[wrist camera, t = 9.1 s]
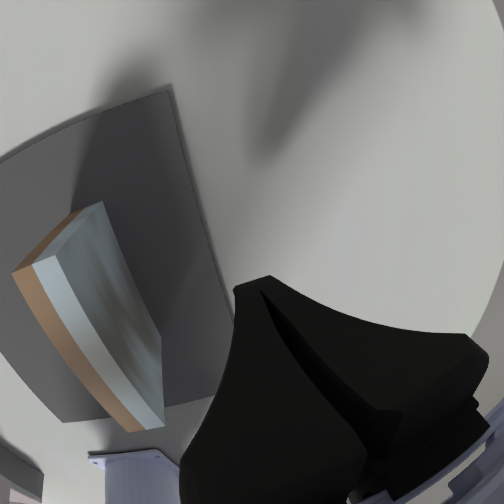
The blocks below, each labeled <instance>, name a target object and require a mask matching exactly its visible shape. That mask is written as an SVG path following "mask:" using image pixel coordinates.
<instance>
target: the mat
mask: <svg viewBox="0 0 504 504" xmlns="http://www.w3.org/2000/svg"><path fill="white" fill-rule="evenodd" d="M101 201H103V204H104V207H105V210H106V212H107V215H108V218H109V221H110V223H111V226H112V229H113V231H114V234H115V237H116V239H117V242H118V244H119V247H120V249H121V252H122V254H123V256H124V259H125V261H126V264H127V266H128V268H129V271H130V273H131V275H132V278H133V280H134V282H135V284H136V286H137V289H138V291H139V293H140V295H141V297H142V299H143V302H144V304H145V306H146V308H147V310H148V312H149V314H150V316H151V318H152V320H153V322H154V324H155V326H156V328H157V330H158V332H159V334H160V336H161V354H162V382H163V400H164V407H169V406H173V405H177V404H181V403H186V402H190V401H194V400H198V399H201V398H205V397H209V396H212V395H216V392H217V390H218V387H219V384H220V381H221V379H222V376H223V373H224V370H225V366H226V363H227V359H228V355H229V351H230V347H231V341H232V335H233V329H234V325H233V322H232V319H231V315H230V312H229V309H228V306H227V303H226V300H225V297H224V294H223V290H222V287H221V284H220V281H219V278H218V274H217V271H216V268H215V265H214V261H213V258H212V255H211V251H210V248H209V245H208V241H207V238H206V234H205V231H204V227H203V224H202V221H201V217H200V214H199V210H198V206H197V203H196V199H195V196H194V192H193V188H192V185H191V181H190V177H189V174H188V170H187V166H186V162H185V159H184V155H183V151H182V147H181V143H180V139H179V135H178V131H177V127H176V123H175V119H174V115H173V111H172V107H171V103H170V99H169V94H168V90H167V91H164V92H160V93H157V94H154V95H150V96H147V97H144V98H141V99H138V100H135V101H132V102H129V103H126V104H123V105H120V106H118V107H115V108H112V109H110V110H107V111H104V112H102V113H99V114H97V115H94V116H92V117H89V118H87V119H85V120H82V121H80V122H78V123H76V124H73V125H71V126H69V127H67V128H65V129H63V130H60V131H58V132H56V133H54V134H52V135H50V136H48V137H46V138H44V139H42V140H41V141H39V142H37V143H35V144H33V145H31V146H29V147H28V148H26V149H24V150H22V151H21V152H19V153H17V154H15V155H14V156H12V157H10V158H9V159H7V160H5V161H4V162H2V163H1V164H0V352H1V353H2V354H3V356H4V357H5V359H6V360H7V361H8V362H9V364H10V365H11V366H12V368H13V369H14V370H15V371H16V373H17V374H18V375H19V376H20V378H21V379H22V380H23V381H24V382H25V384H26V385H27V386H28V387H29V388H30V389H31V390H32V392H33V393H34V394H35V395H36V396H37V397H38V398H39V399H40V400H41V401H42V402H43V404H44V405H45V406H46V407H47V408H48V409H49V410H50V411H51V412H52V413H53V414H54V415H55V416H56V417H57V418H58V419H59V420H60V421H61V422H62V423H67V422H78V421H87V420H95V419H102V418H109V417H112V416H111V415H110V414H109V413H108V412H107V411H106V410H105V409H104V408H103V407H102V405H101V404H100V403H99V402H98V401H97V400H96V399H95V398H94V396H93V395H92V394H91V393H90V392H89V391H88V389H87V388H86V387H85V386H84V385H83V383H82V382H81V381H80V380H79V379H78V377H77V376H76V375H75V374H74V372H73V371H72V370H71V368H70V367H69V366H68V364H67V363H66V362H65V360H64V359H63V358H62V356H61V355H60V354H59V352H58V351H57V349H56V348H55V347H54V345H53V344H52V342H51V341H50V339H49V338H48V336H47V335H46V333H45V332H44V330H43V329H42V327H41V325H40V324H39V322H38V321H37V319H36V317H35V316H34V314H33V312H32V311H31V309H30V307H29V306H28V304H27V302H26V300H25V299H24V297H23V295H22V293H21V291H20V290H19V288H18V286H17V284H16V282H15V280H14V278H13V276H12V274H11V273H12V272H13V271H14V269H15V268H16V267H17V266H18V265H19V264H20V263H21V262H22V261H23V260H24V258H25V257H26V256H27V255H28V254H29V253H30V252H31V251H32V250H33V249H34V248H35V247H36V246H37V245H38V244H39V243H40V242H41V241H42V240H43V239H44V238H45V237H46V236H47V235H48V234H49V233H50V232H51V231H52V230H53V229H54V228H55V227H56V226H57V225H58V224H59V223H60V222H61V221H63V220H64V219H65V218H66V217H67V216H68V215H69V214H71V213H73V212H76V211H78V210H81V209H83V208H86V207H88V206H91V205H93V204H96V203H98V202H101Z"/></svg>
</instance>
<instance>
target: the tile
mask: <svg viewBox="0 0 504 504" xmlns="http://www.w3.org/2000/svg"><path fill="white" fill-rule="evenodd" d="M11 274H12V276H13V278H14V280H15V282H16V284H17V286H18V288H19V290H20V291H21V293H22V295H23V297H24V299H25V300H26V302H27V304H28V306H29V307H30V309H31V311H32V312H33V314H34V316H35V317H36V319H37V321H38V322H39V324H40V325H41V327H42V329H43V330H44V332H45V333H46V335H47V336H48V338H49V339H50V341H51V342H52V344H53V345H54V347H55V348H56V349H57V351H58V352H59V354H60V355H61V356H62V358H63V359H64V360H65V362H66V363H67V364H68V366H69V367H70V368H71V370H72V371H73V372H74V374H75V375H76V376H77V377H78V379H79V380H80V381H81V382H82V383H83V385H84V386H85V387H86V388H87V389H88V391H89V392H90V393H91V394H92V395H93V396H94V398H95V399H96V400H97V401H98V402H99V403H100V404H101V405H102V407H103V408H104V409H105V410H106V411H107V412H108V413H109V414H110V415H111V416H112V417H113V418H114V419H115V420H116V421H117V422H118V423H119V424H120V425H121V426H122V427H123V428H124V429H125V430H126V431H127V432H128V433H130V432H136V431H143V430H148V429H154V428H159V427H165V414H164V400H163V382H162V354H161V336H160V334H159V332H158V330H157V328H156V326H155V324H154V322H153V320H152V318H151V316H150V314H149V312H148V310H147V308H146V306H145V304H144V302H143V299H142V297H141V295H140V293H139V291H138V289H137V286H136V284H135V282H134V280H133V278H132V275H131V273H130V271H129V268H128V266H127V264H126V261H125V259H124V256H123V254H122V252H121V249H120V247H119V244H118V242H117V239H116V237H115V234H114V231H113V229H112V226H111V223H110V221H109V218H108V215H107V212H106V210H105V207H104V204H103V201H101V202H98V203H96V204H93V205H91V206H88V207H86V208H83V209H81V210H78V211H76V212H73V213H71V214H69V215H68V216H67V217H66V218H65V219H64V220H63V221H61V222H60V223H59V224H58V225H57V226H56V227H55V228H54V229H53V230H52V231H51V232H50V233H49V234H48V235H47V236H46V237H45V238H44V239H43V240H42V241H41V242H40V243H39V244H38V245H37V246H36V247H35V248H34V249H33V250H32V251H31V252H30V253H29V254H28V255H27V256H26V257H25V258H24V260H23V261H22V262H21V263H20V264H19V265H18V266H17V267H16V268H15V269H14V271H13V272H12V273H11Z"/></svg>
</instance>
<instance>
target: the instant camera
mask: <svg viewBox="0 0 504 504" xmlns="http://www.w3.org/2000/svg"><path fill="white" fill-rule="evenodd" d="M43 480H44V474H43V473H42V472H40V471H39V470H37V469H36V468H34V467H32V466H31V465H29V464H27V463H26V462H24V461H23V460H21V459H20V458H18V457H17V456H15V455H14V454H12V453H11V452H9V451H8V450H6V449H5V448H4V447H2V446H1V445H0V504H9V501H12V502H21V503H25V504H41V503H42V490H43Z"/></svg>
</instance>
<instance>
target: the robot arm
mask: <svg viewBox="0 0 504 504" xmlns="http://www.w3.org/2000/svg"><path fill="white" fill-rule="evenodd" d="M233 292H234V296H235V319H234V329H233V335H232V341H231V347H230V351H229V355H228V359H227V363H226V366H225V370H224V373H223V376H222V379H221V381H220V384H219V387H218V390H217V392H216V395H215V397H214V399H213V401H212V404H211V406H210V408H209V410H208V412H207V414H206V416H205V418H204V420H203V422H202V424H201V426H200V428H199V430H198V431H197V433H196V435H195V436H194V438H193V440H192V441H191V443H190V444H189V446H188V448H187V449H186V451H185V453H184V454H183V456H182V457H181V460H180V468H179V467H177V466H176V465H175V464H174V463H173V462H172V461H170V460H169V459H168V458H167V457H166V456H165V455H164V454H163V453H162V452H160V451H159V450H157V449H151V450H144V451H137V452H128V453H119V454H108V455H93V456H88V461H90V462H91V463H92V464H94V465H95V466H97V467H98V468H99V469H101V470H102V471H104V472H105V504H347V503H346V500H347V498H348V497H349V500H350V502H351V504H405V503H406V502H408V501H410V500H411V499H413V498H414V497H416V496H417V495H419V494H420V493H422V492H423V491H425V490H426V489H428V488H429V487H431V486H432V485H434V484H435V483H436V482H438V481H439V480H440V479H442V478H443V477H444V476H446V475H447V474H448V473H450V472H451V471H452V470H453V469H454V468H456V467H457V466H458V465H460V464H461V463H462V462H463V461H464V460H466V459H467V458H468V457H469V456H470V455H471V454H472V453H473V452H475V451H476V450H477V449H478V448H479V447H480V446H481V445H482V444H483V443H484V442H485V441H486V440H487V441H486V444H485V447H486V448H485V451H484V452H483V453H482V454H481V455H480V456H479V457H478V458H476V459H475V460H474V461H473V462H472V463H471V464H470V465H469V466H468V467H467V468H466V469H464V470H463V471H462V472H461V473H460V474H459V475H457V476H456V477H455V478H454V479H452V480H451V481H450V482H449V483H448V487H449V488H450V489H451V490H452V492H453V494H452V495H451V496H449V497H448V498H447V499H445V500H444V501H443V502H441V503H440V504H504V397H503V398H502V399H501V401H500V402H499V403H498V404H497V405H496V406H495V407H494V408H493V409H492V410H491V411H490V412H489V413H488V414H487V415H486V416H485V417H482V415H481V414H480V413H479V412H478V411H477V410H476V409H477V408H478V406H479V402H478V401H477V400H476V399H475V398H474V397H473V394H474V392H475V391H476V389H477V387H478V385H479V384H480V382H481V380H482V378H483V376H484V374H485V372H486V370H487V368H488V364H489V356H488V354H487V353H486V352H485V351H484V350H483V349H482V348H481V347H480V346H479V345H478V344H476V343H475V342H474V341H473V340H472V339H471V338H470V337H468V336H467V335H466V334H461V333H430V332H421V331H412V330H405V329H399V328H394V327H389V326H385V325H380V324H376V323H372V322H368V321H365V320H361V319H358V318H355V317H352V316H349V315H347V314H344V313H341V312H338V311H336V310H333V309H331V308H329V307H327V306H324V305H322V304H320V303H318V302H316V301H314V300H312V299H310V298H308V297H306V296H305V295H303V294H301V293H299V292H297V291H296V290H294V289H292V288H291V287H289V286H287V285H286V284H284V283H282V282H281V281H279V280H278V279H276V278H274V277H273V276H271V275H268V276H265V277H262V278H259V279H256V280H253V281H249V282H246V283H243V284H240V285H237V286H235V287H234V289H233Z"/></svg>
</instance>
